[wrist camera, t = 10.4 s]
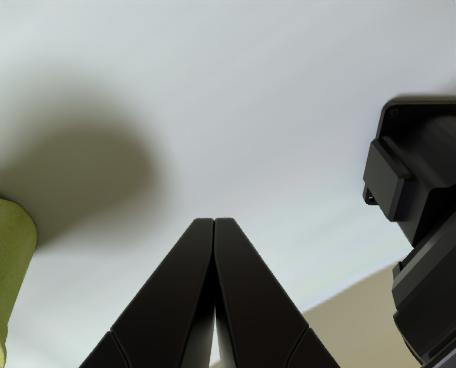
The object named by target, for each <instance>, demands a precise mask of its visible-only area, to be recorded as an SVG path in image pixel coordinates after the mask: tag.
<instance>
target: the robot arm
mask: <svg viewBox="0 0 456 368" xmlns="http://www.w3.org/2000/svg"><path fill="white" fill-rule="evenodd" d="M392 109H396V111H395V113H394V114H392V115H389V112H390V111H391V110H392ZM363 180H364V182H365V187H364V192H363V199H364V201H365V202H366V204H368V205H379V206H380V208H381V210H382V211H383V213H384V215H385V216H386V218H387V219H388V220H389V221H390V222H397V223H398V225H399V226H400V228H401V230H402V231H403V233H404V234H405V236H406V237H407V239H408V241H409V242H410V244H411V245H412V247H413V248H414V249H413V250H412V251H411V252H410V253H409V254H408V256H407V257H406V258H405V259H404V260H403V261H402V262H398V264H397V265H396V266H395V267H394V268H393V278H394V282H393V287H392V294H393V298H394V302H395V306H396V309H397V311H396V312H395V313H394V315H393V318H394V322H395V324H396V326H397V328H398V330H399V332H400V333H401V335H402V337H403V339H404V342H405V344H406V346H407V347H408V349H409V350H410V352H411V353H412V355H413V356H414V357H415V358H416V360H417V361H418V362H419V363H420V364H421V366H422V367H421V368H456V101H413V102H389V103H387V104H386V105H385V106H384V107H383V109H382V111H381V116H380V120H379V124H378V129H377V133H376V138H375V139H374V140H373V141H372V142H371V144H370V148H369V153H368V157H367V162H366V167H365V171H364V176H363ZM372 195H373V196H374V197H373V198H369V197H370V196H372ZM215 314H216V328H217V336H218V344H219V352H220V360H221V368H340V366H339V365H338V364H337V362H336V361H335V360H334V358H333V357H332V356H331V354H330V353H329V352H328V351H327V349H326V348H325V346H324V345H323V344H322V342H321V341H320V340H319V338H318V337H317V335H316V334H315V332H314V331H313V330H312V328H309V324H308V323H307V321H306V320H305V319H304V317H303V316H302V314H301V313H300V311H299V310H298V309H297V307H296V306H295V304H294V303H293V302H292V300H291V299H290V297H289V296H288V294H287V293H286V292H285V290H284V289H283V287H282V286H281V285H280V283H279V282H278V280H277V279H276V277H275V276H274V275H273V273H272V272H271V270H270V269H269V268H268V266H267V265H266V263H265V262H264V260H263V259H262V258H261V256H260V255H259V253H258V252H257V251H256V249H255V248H254V246H253V245H252V243H251V242H250V241H249V239H248V238H247V236H246V235H245V234H244V232H243V231H242V229H241V228H240V226H239V225H238V224H237V222H236V221H235V220H234V219H233V218H216V219H215V221H214V220H213V219H212V218H196V219H195V220H194V221H193V222H192V223H191V225H190V226H189V227H188V228H187V230H186V231H185V232H184V234H183V235H182V236H181V237H180V239H179V240H178V241H177V243H176V244H175V245H174V246H173V248H172V249H171V250H170V252H169V253H168V254H167V256H166V257H165V258H164V259H163V261H162V262H161V263H160V265H159V266H158V267H157V268H156V270H155V271H154V272H153V274H152V275H151V276H150V278H149V279H148V280H147V281H146V283H145V284H144V285H143V287H142V288H141V289H140V290H139V292H138V293H137V294H136V296H135V297H134V298H133V299H132V301H131V302H130V303H129V305H128V306H127V307H126V309H125V310H124V311H123V312H122V314H121V315H120V316H119V318H118V319H117V320H116V321H115V323H114V324H113V325H112V327H111V328H110V331H108V332H107V333H106V334H105V335H104V337H103V338H102V339H101V341H100V342H99V343H98V344H97V346H96V347H95V348H94V349H93V351H92V352H91V353H90V354H89V356H88V357H87V358H86V359H85V360H84V362H83V363H82V364H81V365H80V367H79V368H209V362H210V354H211V347H212V339H213V331H214V322H215Z"/></svg>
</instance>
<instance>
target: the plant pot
mask: <svg viewBox="0 0 456 368" xmlns="http://www.w3.org/2000/svg"><path fill="white" fill-rule="evenodd" d="M36 244H37V230H36V227H35V225H34V223H33V221H32V219H31V218H30V216H29V215H28V214H27V213H26V212H25V211H24V210H23V209H22V208H21V207H20V206H19V205H17V204H16V203H14V202H11V201H7V200H4V199H1V198H0V368H4V366H5V363H6V353H7V351H6V347H5V342H6V338H7V333H8V326H7V324H8V321H9V318H10V315H11V312H12V310H13V307H14V304H15V301H16V299H17V296H18V293H19V290H20V287H21V285H22V282H23V279H24V277H25V274H26V271H27V269H28V266H29V263H30V261H31V258H32V256H33V253H34V250H35V247H36Z"/></svg>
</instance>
